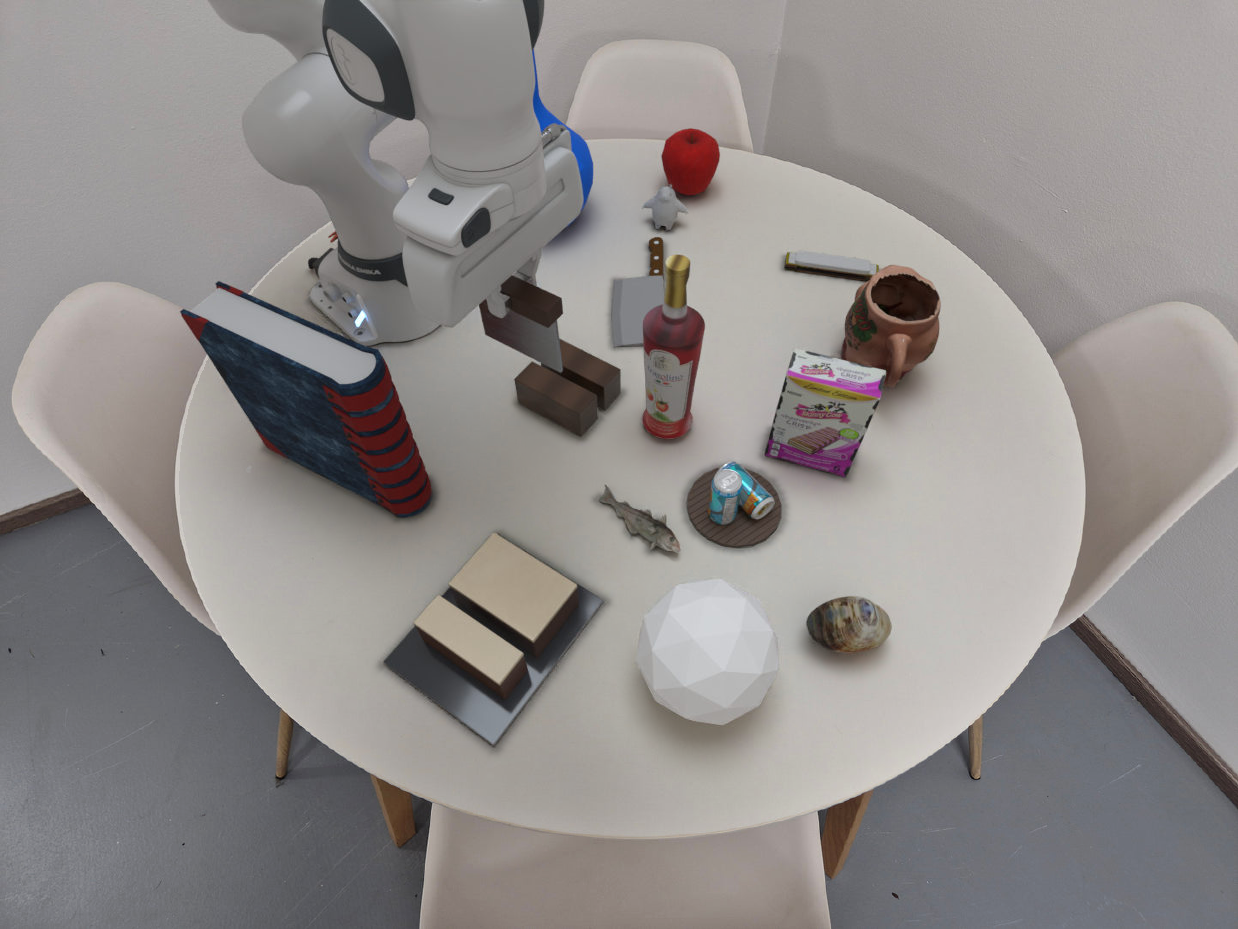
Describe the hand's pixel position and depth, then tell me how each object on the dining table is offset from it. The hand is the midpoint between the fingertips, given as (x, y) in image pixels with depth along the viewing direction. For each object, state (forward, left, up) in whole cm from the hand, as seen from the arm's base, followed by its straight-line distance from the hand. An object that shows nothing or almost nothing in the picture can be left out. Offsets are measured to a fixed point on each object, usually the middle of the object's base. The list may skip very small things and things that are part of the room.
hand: (513, 300), depth 74 cm
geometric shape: (+30, -10, -32) cm, 45 cm away
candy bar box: (+26, +24, -32) cm, 48 cm away
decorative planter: (+28, +43, -32) cm, 60 cm away
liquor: (+8, +17, -32) cm, 37 cm away
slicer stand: (-6, +14, -32) cm, 35 cm away
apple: (-17, +64, -32) cm, 74 cm away
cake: (+8, -19, -32) cm, 38 cm away
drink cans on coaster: (+22, +11, -32) cm, 40 cm away
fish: (+14, +2, -32) cm, 35 cm away
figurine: (-16, +55, -32) cm, 65 cm away
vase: (-34, +44, -32) cm, 64 cm away
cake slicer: (0, 0, -7) cm, 7 cm away
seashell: (+41, +2, -32) cm, 52 cm away
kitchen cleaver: (-9, +38, -32) cm, 50 cm away
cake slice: (+8, -23, -31) cm, 39 cm away
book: (-22, -12, -32) cm, 41 cm away
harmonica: (+13, +59, -32) cm, 68 cm away
